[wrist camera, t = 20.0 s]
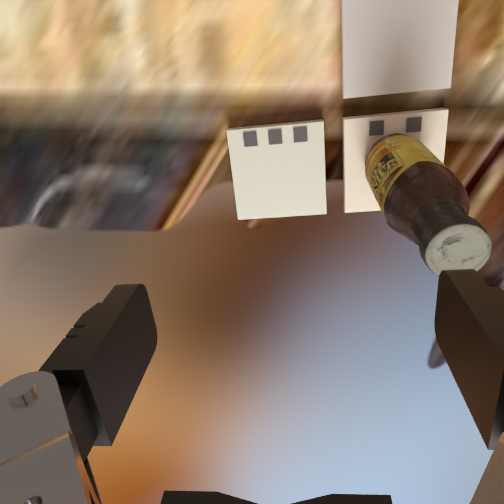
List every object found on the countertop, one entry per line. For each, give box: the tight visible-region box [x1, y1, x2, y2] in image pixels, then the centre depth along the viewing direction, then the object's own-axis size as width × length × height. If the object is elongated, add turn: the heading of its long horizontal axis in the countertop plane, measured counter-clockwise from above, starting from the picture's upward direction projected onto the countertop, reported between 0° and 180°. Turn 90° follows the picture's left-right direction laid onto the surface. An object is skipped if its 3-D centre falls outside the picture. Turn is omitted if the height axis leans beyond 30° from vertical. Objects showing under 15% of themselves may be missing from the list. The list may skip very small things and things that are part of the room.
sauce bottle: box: [365, 133, 492, 275], centre depth 35 cm, size 7×6×20 cm
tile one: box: [341, 0, 459, 99], centre depth 39 cm, size 10×10×2 cm
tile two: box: [342, 108, 448, 213], centre depth 44 cm, size 10×10×2 cm
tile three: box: [227, 119, 327, 220], centre depth 46 cm, size 10×10×2 cm
